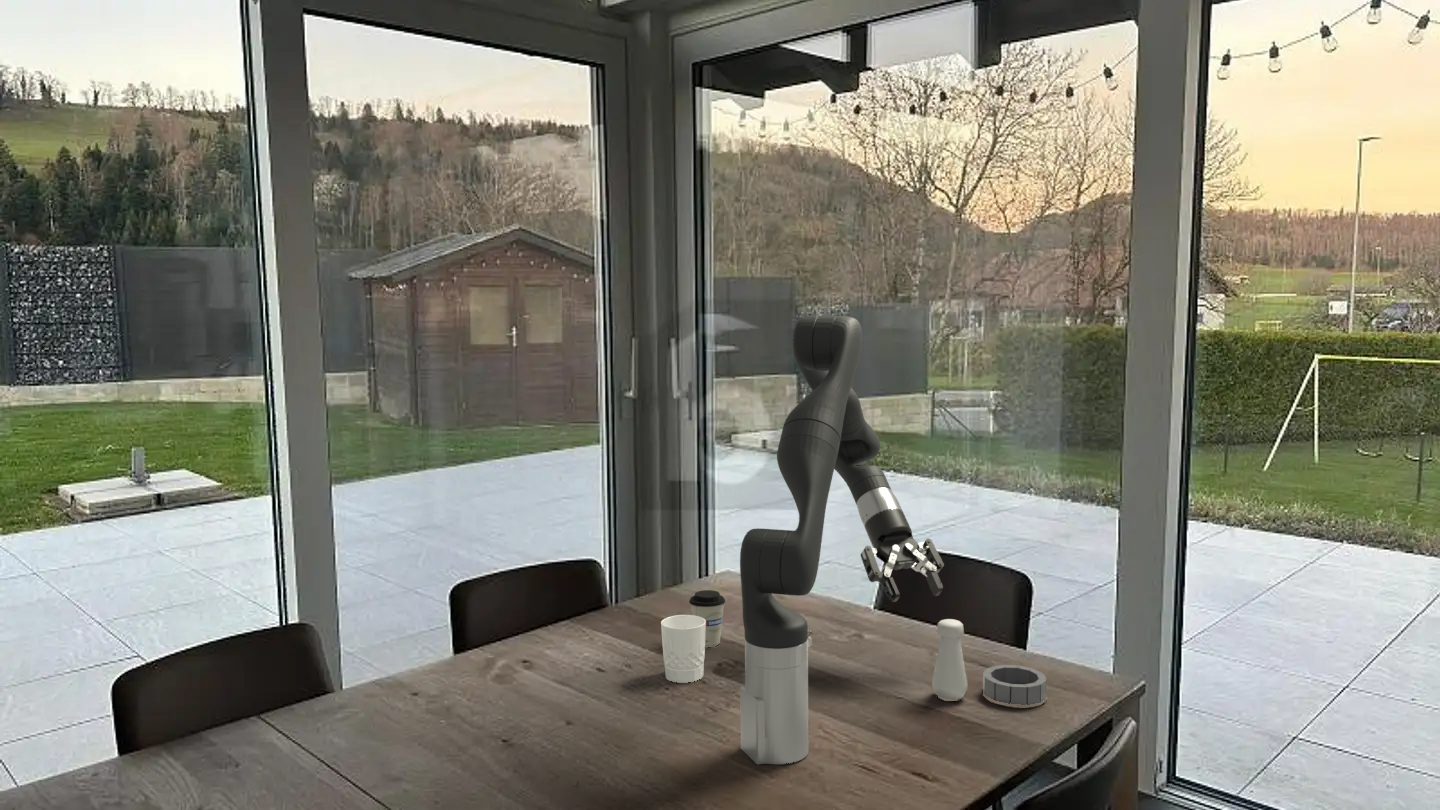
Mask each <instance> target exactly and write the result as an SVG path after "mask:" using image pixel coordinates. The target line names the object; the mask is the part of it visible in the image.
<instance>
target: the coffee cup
mask: <svg viewBox="0 0 1440 810" xmlns="http://www.w3.org/2000/svg"><path fill="white" fill-rule="evenodd" d="M688 602H689V604H690V609H691V611H690V612H691V615H694V616H699V617H702V618H704V619H705V620H706V632H705V647H712V646H716V645H718V644H719V643H720V642H721V636H722V635H721V633H722V624H723V616H724V614H723V613H724V607H725V606H724V605H725V603H726V599H725V597H724V596H723V595H721V594H720V592H719V591H716V590H710V589H709V590H707V589H705V590H699V591H696V592H694V595H693V596H691V597H690V599H689V601H688ZM720 644H721V643H720Z"/></svg>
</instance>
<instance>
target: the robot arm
mask: <svg viewBox="0 0 1440 810" xmlns="http://www.w3.org/2000/svg"><path fill="white" fill-rule="evenodd" d="M862 345H863V329H862V326H861V324H860V322H859V321H858V319H857V318H854V317H852V316H845V315H809V316H803V317H801V318H799V319H798V321H797V322H796V323H795V326H794V329H793V335H792V350H793V356H794V358H795V362H796V364H797V367H798V369H799V370H800V373H801V374H802V376H803V378H804V379H805V381H806V383H807V385H808V386H809V388H810V390H811V392H810V393H808V394H807V396H805V398H803V399H802V400H801V401H800V402H799V403H798V404H797V405H796V406H795V407H794V408H793V409H792V410H791V411H790V412H789V414H787V417H786V418H785V421H784V423H783V425H782V426H783V427H782V431H781V433H780V434H781V435H780V437H779V442H778V447H777V451H776V461H777V465H778V469H779V472H780V473H781V476H782V478H783V480H784V482H785V484H786V485H787V488H788V489H789V491H790V493H791V495H792V498H793V500H794V503H795V505H796V508H797V511H798V516H799V517H798V524H797V526H796V529H795V530H785V529H773V528H759V527H758V528H752V529H749V530H748V531H747V532H746V534H745V535H744V537H743V539H742V542H741V548H740V552H739V554H740V555H739V556H740V557H739V572H740V587H741V599H742V600H741V601H742V622H743V623H742V624H743V629H744V685H743V686H742V685H741V686H740V688H739V704H740V705H739V707H740V708H739V711H740V712H739V713H740V718H739V719H740V721H739V722H740V724H739V725H740V749H741V750H742V751H743V753H745V754H746V755H747V756H748V757H749V758H750V759H751V760H752V761H753V762H754V763H755V764H756V765H764V764H765V765H767V764H769V765H786V763H787V764H788V763H789V764H793V762H794V763H797V762H799V761H801V760H803V759H805V758H806V757H807V755H808V754H809V650H808V629H809V628H808V627H809V626H808V622H807V620H806V618H805V617H804V616H803V615H802V614H800V613H798V612H796V611H795V610H792V609H790V608H788V607H786V606H785V605H783V603H780V602H779V601H778V600H777V599H776V598H775V597H774V596H773V595H781V596H782V595H785V596H795V597H796V596H798V597H799V596H805V595H808V594H809V593H810V592H811V591H812V589H813V587H814V585H815V582H816V579H817V576H818V575H817V574H818V570H819V564H820V558H821V557H820V556H821V549H822V542H823V541H822V540H823V533H824V524H825V518H826V517H825V516H826V509H827V503H828V500H829V499H828V498H829V495H830V490H831V484H832V479H833V477H834V471H835V472H836V473H837V474H838V475H839V476H840V477H841V478H842V479H843V481H844V482H845V483H846V485H847V487H848V489H849V491H850V493H851V495H852V498H853V500H854V503H855V504H856V508H857V510H858V514H859V517H860V520H861V523H862V524H863V527H864V529H865V532H866V534H867V536H868V539H869V540H870V543H871V545H872V547H873V548H872V547H871V546H870V545H865V547H864V548H863V550H862V551H861V553H860V558H861V561H862V564H863V566H864V569H865V573H866V575H867V578H868V580H869V582H871V583H875V582H878V583H880V584H881V585H882V588H883V590H884V592H885V595H886V597H887V598H888V600H891V602H892V603H895V602H897V601H898V600H899V599H900V598H901V594H900V592H899V591H900V590H899V589H898V587H897V584H896V581H895V579H894V578H893V576H892V577H891V575H892V572H893V570H894V571H899V570H901V569H905V570H907V569H912V570H914V571H915V572H917V573H921V574H922V575H923V576H924V577H926V578H925V580H926V581H927V582H926V583H927V584H928V586H929V589H930V591H931V592H932V595H933V596H934V597H938V596H940V594H941V593H942V592H943V588H944V586H943V585H944V584H943V583H942V581H941V578H940V577H939V572H940V571H941V570H942V569H943V567H944V566H945V563H944V562H943V559H942V557H941V555H940V553H939V552H938V550H937V548H936V546H935V544H934V542H933V540H932V539H930V538H925V540H924V541H922V542H918V541H916V540H915V539H914V537H913V533H912V527H911V526H910V524H909V522H908V519H907V517H906V515H905V513H904V511H903V509H902V506H901V505H900V502H899V500H898V498H897V496H896V495H895V493H894V491H893V490H892V489H891V486H890V483H889V482H888V480H887V477H886V474H885V472H884V470H882V468H881V467H879V466H878V465H876V464H868V465H860V464H862V463H865V462H868V461H870V460H873V459H874V458H876V457H877V455H878V454H879V453H880V450H881V443H880V439H879V437H878V435H877V433H876V431H875V430H874V428H872V427H871V426H870V424H869V423H868V422H867V421H866V419H865V417H864V414H863V409H862V404H861V401H860V398H859V397H858V395H857V393H856V392H855V390H854V389H853V388H852V386H853V382H854V380H855V379H854V378H855V376H856V372H857V369H858V365H859V361H860V357H861V352H862V347H863V346H862ZM858 465H859V466H858ZM876 558H878V559H879V560H880V561H881V562H883V564H882V567H881V570H880V568H879V565H878V561H877V560H876ZM917 560H918V561H919V562H916V561H917Z"/></svg>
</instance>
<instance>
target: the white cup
mask: <svg viewBox="0 0 1440 810" xmlns="http://www.w3.org/2000/svg"><path fill="white" fill-rule="evenodd" d="M660 626H661V627H660V628H661V640H662V641H661V645H662V655H663V664H664V673H665V678H666V680H668V682H671V681H672V682H673V683H676V682H677V684H689V683H688V682H691V683H695V682H698V681H700V680H701V679H702V678H703V677H704V672H705V671H704V664H705V663H704V662H705V657H706V656H705V655H706V653H705V652H706V648H705V632H706V620H705V619H704V618H702V617H699V616H694V615H692V614H677V615H676V614H675V615H672V616H668V617H665V618H664V619H662V620H661V621H660ZM699 679H700V680H699ZM697 680H698V681H697ZM694 681H695V682H694ZM672 682H671V683H672Z"/></svg>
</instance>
